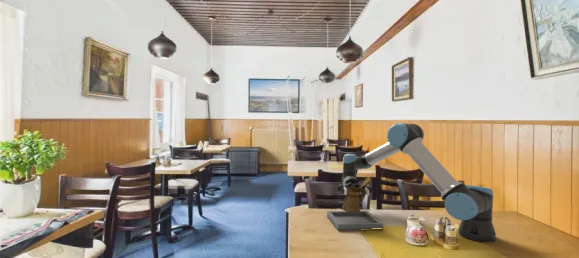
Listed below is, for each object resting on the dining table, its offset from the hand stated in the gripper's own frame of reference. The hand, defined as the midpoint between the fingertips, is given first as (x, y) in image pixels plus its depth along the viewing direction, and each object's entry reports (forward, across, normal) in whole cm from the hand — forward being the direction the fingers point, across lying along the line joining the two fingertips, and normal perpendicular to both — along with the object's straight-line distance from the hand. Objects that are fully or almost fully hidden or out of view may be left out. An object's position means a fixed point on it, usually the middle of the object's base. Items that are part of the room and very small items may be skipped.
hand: (357, 192), depth 161 cm
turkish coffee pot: (-4, 0, -10) cm, 11 cm away
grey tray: (-4, +1, -16) cm, 17 cm away
